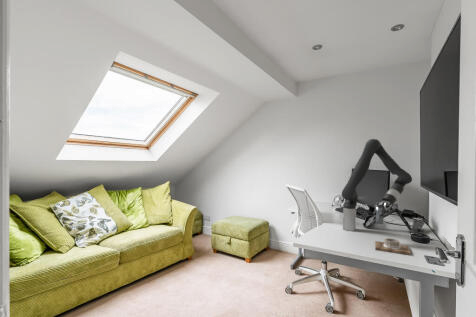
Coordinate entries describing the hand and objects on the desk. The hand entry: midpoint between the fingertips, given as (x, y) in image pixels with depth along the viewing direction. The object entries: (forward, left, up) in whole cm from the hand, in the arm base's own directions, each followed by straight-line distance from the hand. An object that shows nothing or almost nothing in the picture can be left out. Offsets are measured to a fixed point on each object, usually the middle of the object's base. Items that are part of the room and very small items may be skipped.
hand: (377, 215), depth 168 cm
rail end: (+1, +1, -5) cm, 6 cm away
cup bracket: (+8, -11, -18) cm, 23 cm away
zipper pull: (+28, +44, -18) cm, 55 cm away
